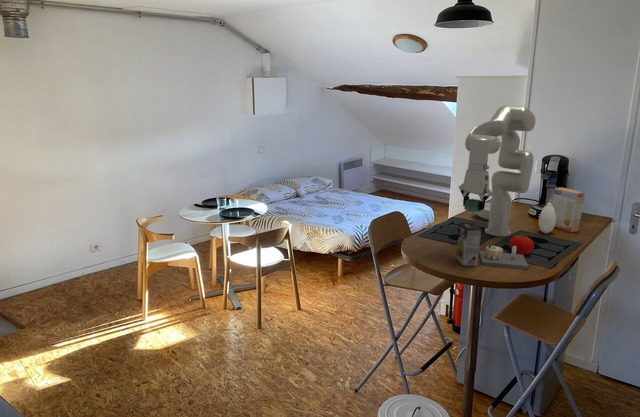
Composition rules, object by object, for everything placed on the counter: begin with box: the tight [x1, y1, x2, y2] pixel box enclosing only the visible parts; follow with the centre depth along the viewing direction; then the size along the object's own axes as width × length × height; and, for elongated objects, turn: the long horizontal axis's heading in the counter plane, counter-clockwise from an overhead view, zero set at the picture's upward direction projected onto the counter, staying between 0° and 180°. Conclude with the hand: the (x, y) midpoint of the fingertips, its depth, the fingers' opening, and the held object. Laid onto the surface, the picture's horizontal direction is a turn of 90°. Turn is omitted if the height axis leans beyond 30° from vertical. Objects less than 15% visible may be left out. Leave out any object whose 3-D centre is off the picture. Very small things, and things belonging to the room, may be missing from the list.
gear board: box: [479, 243, 529, 270], centre depth 212 cm, size 14×18×7 cm
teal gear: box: [463, 198, 481, 213], centre depth 214 cm, size 7×7×4 cm
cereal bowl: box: [475, 202, 491, 221], centre depth 277 cm, size 17×17×7 cm
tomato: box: [509, 234, 535, 256], centre depth 222 cm, size 9×10×8 cm
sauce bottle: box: [538, 198, 556, 234], centre depth 252 cm, size 8×8×18 cm
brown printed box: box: [455, 222, 482, 267], centre depth 209 cm, size 9×6×16 cm
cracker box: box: [552, 186, 585, 233], centre depth 259 cm, size 14×6×21 cm, turn 22°
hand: (473, 207), depth 214 cm, fingers closed on teal gear, 7 cm apart
